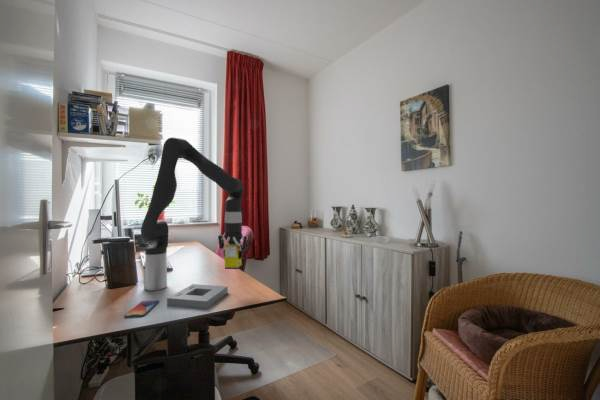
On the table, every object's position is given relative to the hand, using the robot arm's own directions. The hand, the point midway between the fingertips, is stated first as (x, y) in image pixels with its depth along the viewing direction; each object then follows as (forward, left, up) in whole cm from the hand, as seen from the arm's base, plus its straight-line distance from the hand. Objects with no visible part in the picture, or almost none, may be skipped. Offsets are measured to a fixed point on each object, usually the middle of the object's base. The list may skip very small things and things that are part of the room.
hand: (233, 258), depth 121 cm
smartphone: (-29, -21, -17) cm, 40 cm away
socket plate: (-13, -7, -17) cm, 22 cm away
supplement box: (0, 0, -5) cm, 5 cm away
